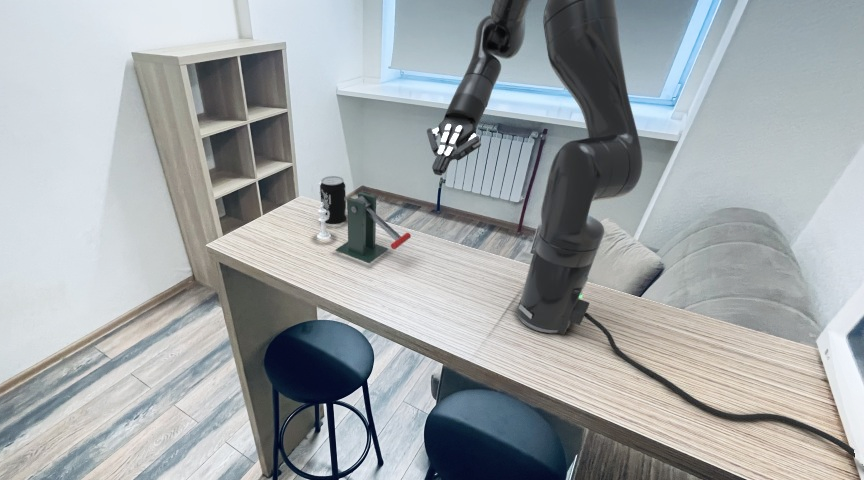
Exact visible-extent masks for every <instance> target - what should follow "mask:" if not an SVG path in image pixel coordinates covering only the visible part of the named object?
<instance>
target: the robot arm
mask: <svg viewBox="0 0 864 480" xmlns="http://www.w3.org/2000/svg"><path fill="white" fill-rule="evenodd" d="M531 1H532V0H492V2H491V7H490V13H489V14H488V15H486V16H485V17H483V18H482V19H481V20H480V22H479V23H478V25H477V27H476V30H475V35H474V42H473V49H472V53H471V54H472V55H471V58H470V61H469V64H468V67H467V69H466V71H465V72H464V75H463V77H462V79H461V81H460V83H459V84H458V86H457V87H456V90H455V91H454V94H453V95H452V98H451V101H450V103H449V105H448V107H447V109H446V112H445V114H444V118H443V120H442V121H441V122H440V123H439V124H438V127H435V128H434V129H433V128H427V129H426V135H427V138H428V141H429V145H430V148H431V151H432V153H433V154H434V156H435V159H434V161H433V163H432V167H431V169H432V172H433V174H434V175H436V176H441V177H442V175H443V174H445V173H446V172H447V170H448V168H449V165H450V164H451V162H452V161H454V160H456V161H460V160H462V159H463V158H465V157H466V156H469V154H471V153H473V152H475V150H477V149H478V148H480V147H481V146H482V141H481V138H480V136H479V135H477V128H478V126H479V124H480V122H481V119H482V117H483V115H484V112H485V110H486V108H487V107H488V105H489V102H490V100H491V96H492V92H493V90H494V88H495V86H496V84H497V81H498V79H499V76H500V74H501V72H502V64H501V61H500V60H499V59H498V58H500V59H504V60H509V59H511V58H514V57H515V56H516V55H517V54H519V52H520V50H521V48H522V46H523V44H524V40H525V36H526V35H525V34H526V16H527V11H528V9H529V7H530V4H531ZM542 23H543V31H544V38H545V39H544V40H545V47H546V53H547V59H548V61H549V64H550V67H551V69H552V70H553V72H554V74H555V75H556V77H557V78H558V80H559V81H560V82H561V84H562V85H563V86H564V89H566V90H567V92H568V93H569V94H570V95H571V96H572V98H573V99H574V101H575V102H576V104H577V105H578V107H579V109H580V111H581V114H582V116H583V120H584V123H585V128H586V133H587V137H585V138H577V139H572V140H569V141H567V142H565V143H564V144H563V145H561V147H560V148H559V149H558V150H557V152H556V153H555V155H554V157H553V159H552V161H551V165H550V168H549V171H548V175H547V180H546V185H545V190H544V195H543V200H542V203H541V208H540V209H541V210H540V220H541V223H540V229H539V233H538V237H537V240H536V244H535V247H534V251H533V254H532V258H531V261H530V264H529V268H528V272H527V275H526V278H525V282H524V285H523V289H522V293H521V296H520V300H519V303H518V306H517V309H516V315H517V318H518V319H519V321H520V322H521V323H522V324H524V325H525V326H526V327H528V328H529V329H532V330H534V331H537V332H540V333H544V334H559V335H562V336H564V335H565V334H566V333H567V330H568V329H569V327H570V325H571V323H572V324H575V325H578V326H581V324H582V322H583V320H584V318H585V319H587V320H588V321H589V322H591V323H592V324H593V325H594V326H596V327H597V328H598V329H599V330H600V331H601V332H602V333H603V334H604V335H605V337H606V338H607V340H608V343H609V345H610V347H611V349H612V351H614V352H615V353H616V354H617V355H618V356H619V357H620V358H621V359H622V360H624V361H625V362H627V363H628V364H630V365H631V366H633V367H634V368H636V369H638V370H639V371H641V372H643V373H645V374H647V375H648V376H650V377H652V378H653V379H656V380H657V381H659V382H660V383H662V384H663V385H665V386H667V387H668V388H670V389H671V390H672V391H674V392H675V393H677V394H678V395H679V396H681V397H682V398H684V399H685V400H687V401H688V402H690V403H692V404H693V405H695V406H696V407H698V408H700V409H702V410H704V411H705V412H709V413H711V414H713V415H716V416H717V417H718V416H719V417H722V418H725V419H729V420H735V421H758V420H774V421H779V422H784V423H786V424H789V425H792V426H795V427H797V428H800V429H802V430H805V431H807V432H810V433H812V434H814V435H816V436H819V437H821V438H823V439H825V440H826V441H829V442H831V443H833V444H834V445H836V446H837V447H839V448H841V449H842V450H843V451H845V452H847V454H849V455H850V456H851V457H853V458H854V459H855V453H854V450H855V448H853V447H852V446H851V445H849V444H847V443H845V441H843V440H840V439H839V438H837V437H835V436H833V435H831V434H829V433H827V432H825V431H823V430H821V429H819V428H816V427H813V426H812V425H809V424H808V423H804V422H801V421H799V420H796V419H794V418H791V417H788V416H786V415H785V416H784V415H780V414H775V413H747V414H737V413H730V412H726V411H723V410H721V409H720V410H719V409H717V408H714V407H712V406H710V405H707V404H705V403H704V402H702V401H700V400H698V399H697V398H695V397H693V396H692V395H690V394H689V393H687V392H686V391H685V390H683V389H682V388H680V387H679V386H677V385H675V384H674V383H673V382H672V381H670V380H668V379H666V378H665V377H664V376H662V375H660V374H658V373H656V372H655V371H653V370H651V369H650V368H647V367H645V366H644V365H642V364H640V363H638V362H637V361H635V360H633V359H632V358H630V357H628V355H627V354H625V353H624V352H623V351H622V350H621V349H620V348H619V347H618V346H617V345H616V343H615V340H614V337H613V335H612V333H610V331H609V330H608V329H607V328H606V327H605V326H604V325H603V324H602V323H601V322H599V321H598V320H597V319H595V318H594V317H593V316H592V315H590V314H589V313H588V312H587V311H588V309H589V306H590V304H591V303H590V302H589V301H586V300H584V299H583V300H582V298H583V293H584V290H585V288H586V285H587V283H588V279H589V274H590V271H591V269H592V266H593V264H594V262H595V259H596V256H597V254H598V251H599V248H600V246H601V243H602V241H603V238H604V235H605V227H604V225H603V223H602V222H601V221H599V220H598V219H597V218H595V217H593V216H591V215H589V213H590V209H591V206H592V202H597V201H605V200H610V199H615V198H621V197H624V196H626V195H628V194H629V193H631V192H632V191H633V190H634V189H635V188H636V187H637V185H638V183H639V181H640V179H641V176H642V172H643V166H644V165H643V163H644V161H643V150H642V146H641V141H640V137H639V133H638V130H637V129H638V128H637V125H636V120H635V117H634V114H633V110H632V105H631V102H630V98H629V93H628V87H627V82H626V75H625V69H624V62H623V57H622V50H621V42H620V32H619V20H618V12H617V5H616V0H547V1H546V4H545V7H544V10H543V16H542ZM439 137H440V141H439V146H438V143H437V140H438V138H439Z"/></svg>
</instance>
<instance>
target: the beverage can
mask: <svg viewBox="0 0 864 480" xmlns="http://www.w3.org/2000/svg"><path fill="white" fill-rule="evenodd" d="M344 180H345V179H344V178H343V177H341V176H339V175H338V176H336V175H330V176H325V177H323V178H322V179H321V183H320V184H319V192H320V203H321V202H323V204H324V206H323V208H324V209H326V214H325V217H326V218H327V220H326V221H325V224H328V225H340V224H342V223H345V222H346V220H347V198H346V197H347V196H346V195H347V194H346V193H347V192H346V183H345V181H344Z"/></svg>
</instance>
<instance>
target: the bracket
mask: <svg viewBox="0 0 864 480" xmlns="http://www.w3.org/2000/svg"><path fill="white" fill-rule="evenodd" d="M361 196H363V197H364V198H365V199H366V200H368V201H369V202H370V203H371V205H370V207H369V208H370V209H371V210H372V211H374V212H375V213H376V214H377V195H373V194H370V193H366V192H363V191H359V192H358V193H357V198H359V197H361ZM357 198H353V197H348V198H346V220H347V242H345V243H343V244H342V245H340V246H339V247H337V248H336V249H334V250H335V251H336V252H338V253H341V254H343V255H345V256H349V257H351V258H354V259H357V260H359V261H362V262H364V263H367V264H370V263H372V262H373V261H375V260H376V259H377V258H379V257H380V256H381V255H383V254H385V252H387V251H388V250H389V248H388V247H385V246H382V245H379V244H377V243H376V237H377V236H376V235H377V234H376V230H377V223H376V222H375V221H374V220H373V219H372V218H371V217H369V216H368V215H367V214H366V202H363V201H360V200H356V199H357Z"/></svg>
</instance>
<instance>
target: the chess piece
mask: <svg viewBox="0 0 864 480" xmlns="http://www.w3.org/2000/svg"><path fill="white" fill-rule="evenodd" d="M323 206H324V204H323V202H321V201H320V205H319V209H317V212H318V215H319V217H318V219H317V220H318V221H319V222H320V232H319V233H317V235H316V237H317V238H318V239H319V240H327V239H330V238H331V236H332V235H331V233H329V232H328V231H327V230H328V229H327V225H326V223H325V221H326V220H327V218H326V217H325V214H326V209H324V208H323Z"/></svg>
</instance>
